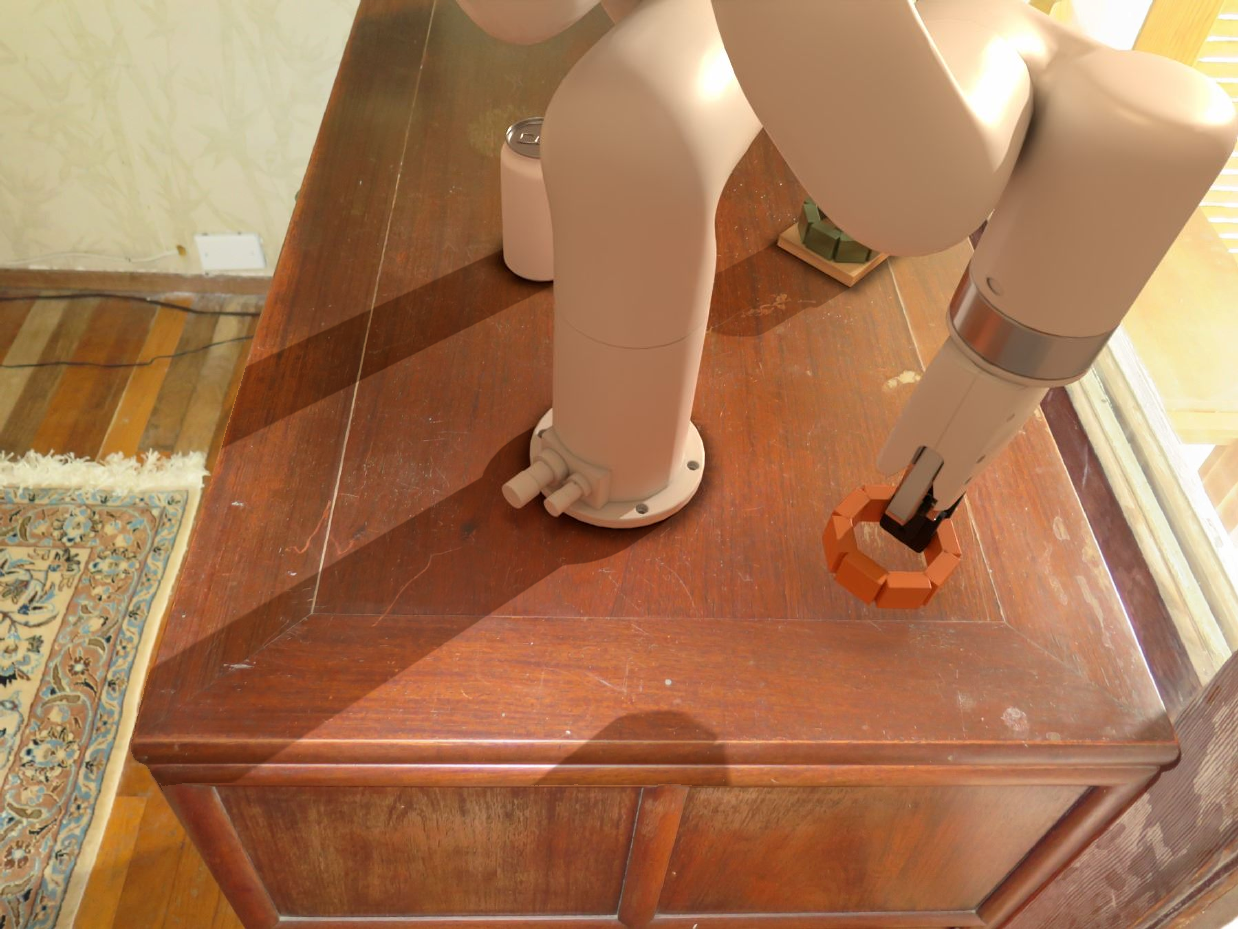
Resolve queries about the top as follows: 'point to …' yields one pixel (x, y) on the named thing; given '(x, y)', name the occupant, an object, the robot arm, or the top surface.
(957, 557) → the orange ring
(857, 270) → the ring stand
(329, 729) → the top surface
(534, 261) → the can
